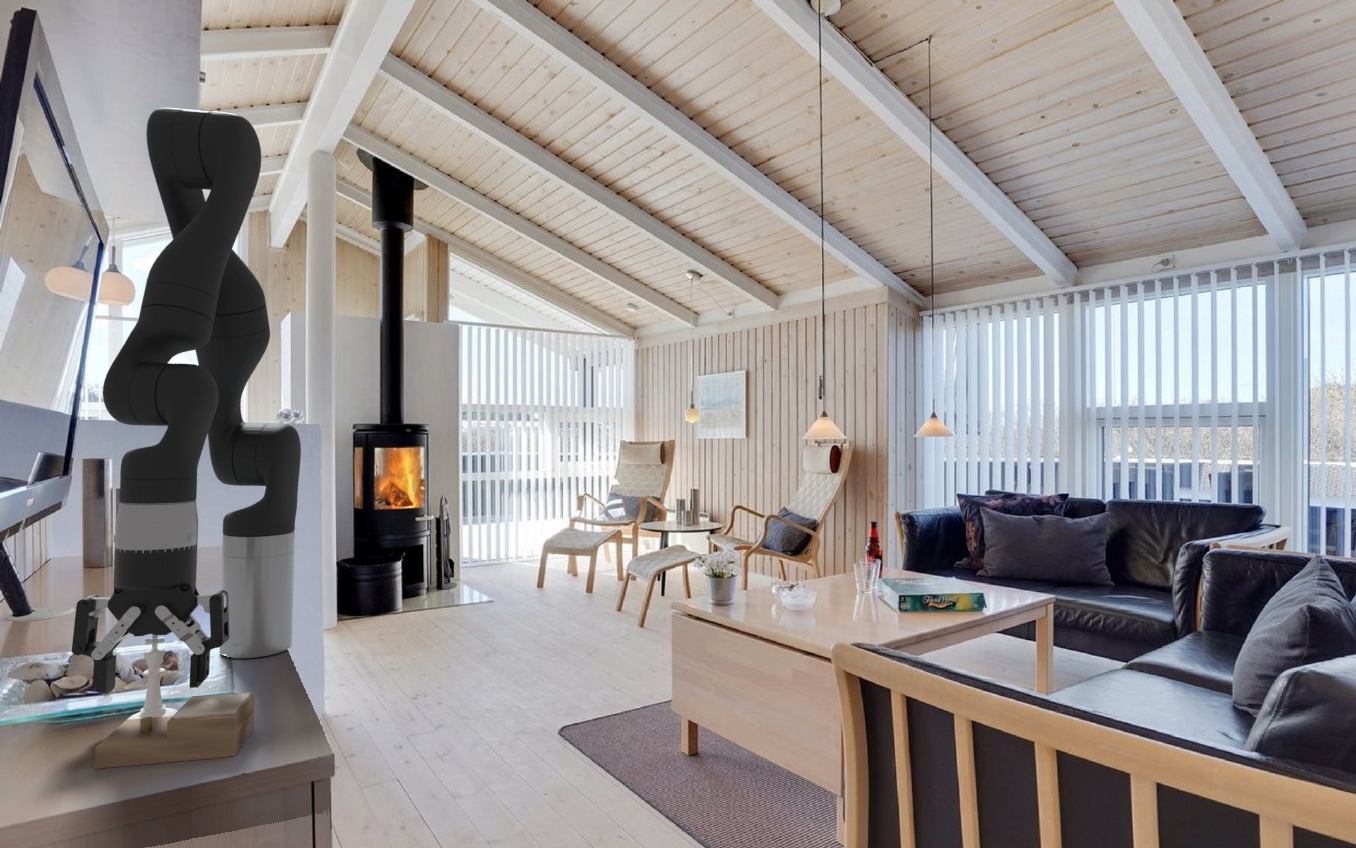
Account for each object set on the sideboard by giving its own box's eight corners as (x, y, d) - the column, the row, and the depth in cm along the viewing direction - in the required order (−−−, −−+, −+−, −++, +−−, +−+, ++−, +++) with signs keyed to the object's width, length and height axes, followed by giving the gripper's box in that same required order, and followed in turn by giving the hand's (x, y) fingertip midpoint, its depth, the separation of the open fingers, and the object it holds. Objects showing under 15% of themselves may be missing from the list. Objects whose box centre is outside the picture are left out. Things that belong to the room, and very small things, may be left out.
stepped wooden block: (126, 738, 78) (127, 699, 78) (253, 728, 81) (254, 690, 81) (94, 769, 71) (95, 725, 71) (234, 756, 74) (235, 714, 74)
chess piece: (182, 724, 81) (184, 634, 81) (127, 736, 78) (129, 642, 78) (176, 710, 85) (178, 624, 85) (123, 721, 82) (125, 631, 82)
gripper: (239, 536, 87) (234, 673, 87) (97, 538, 83) (92, 682, 83) (219, 546, 80) (214, 695, 80) (63, 548, 76) (57, 706, 76)
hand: (152, 688), depth 81 cm, fingers open, 8 cm apart
